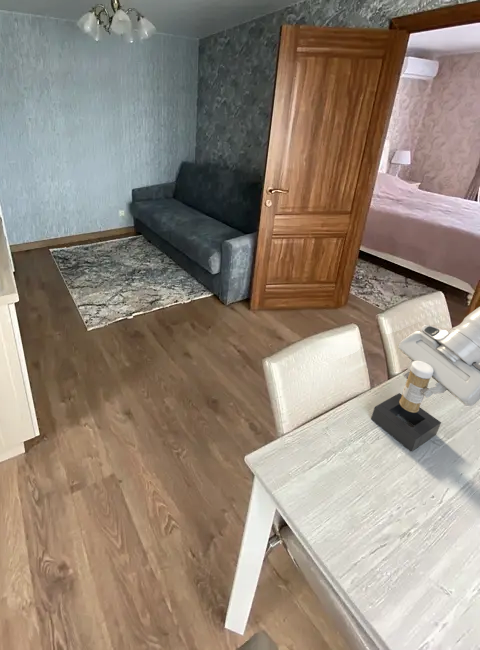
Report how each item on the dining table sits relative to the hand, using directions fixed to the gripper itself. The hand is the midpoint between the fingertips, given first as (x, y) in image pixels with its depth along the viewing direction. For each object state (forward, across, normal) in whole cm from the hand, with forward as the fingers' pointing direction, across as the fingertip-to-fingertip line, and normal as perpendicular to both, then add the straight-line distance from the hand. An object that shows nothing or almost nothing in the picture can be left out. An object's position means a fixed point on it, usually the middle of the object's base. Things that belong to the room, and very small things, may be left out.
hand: (414, 385), depth 88 cm
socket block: (+10, 0, -10) cm, 14 cm away
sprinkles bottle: (+5, 0, -6) cm, 7 cm away
